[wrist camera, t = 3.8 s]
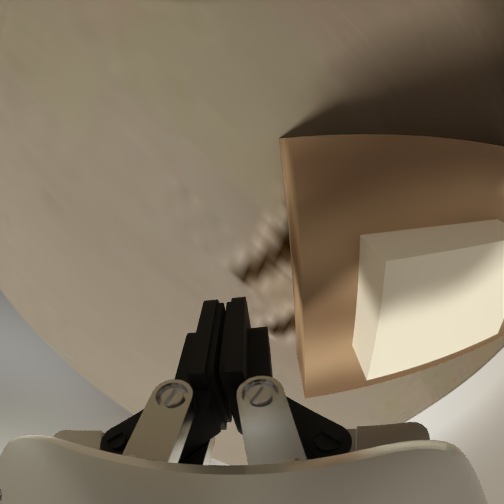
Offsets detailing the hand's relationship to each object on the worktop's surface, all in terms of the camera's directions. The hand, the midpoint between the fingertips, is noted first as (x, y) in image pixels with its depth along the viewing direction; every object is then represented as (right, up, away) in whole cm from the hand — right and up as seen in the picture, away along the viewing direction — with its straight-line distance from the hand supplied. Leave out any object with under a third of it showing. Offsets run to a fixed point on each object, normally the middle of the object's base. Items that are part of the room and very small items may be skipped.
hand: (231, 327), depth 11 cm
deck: (+12, +3, +4) cm, 13 cm away
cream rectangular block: (+10, +1, -1) cm, 10 cm away
